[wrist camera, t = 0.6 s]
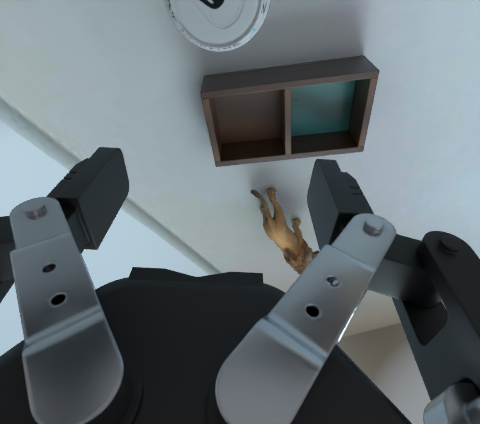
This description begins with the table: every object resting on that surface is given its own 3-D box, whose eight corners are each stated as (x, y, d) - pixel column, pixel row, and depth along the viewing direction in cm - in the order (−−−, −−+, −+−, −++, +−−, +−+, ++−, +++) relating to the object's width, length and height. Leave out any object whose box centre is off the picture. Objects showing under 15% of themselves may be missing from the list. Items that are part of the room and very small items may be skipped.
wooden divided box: (203, 75, 32) (200, 92, 29) (364, 55, 31) (379, 69, 27) (217, 146, 38) (215, 167, 35) (351, 132, 37) (363, 151, 33)
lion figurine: (320, 228, 49) (333, 274, 43) (294, 243, 52) (303, 288, 45) (263, 178, 42) (269, 223, 35) (237, 198, 44) (237, 243, 38)
